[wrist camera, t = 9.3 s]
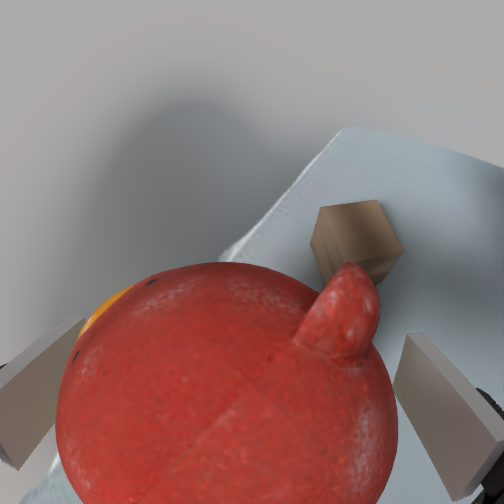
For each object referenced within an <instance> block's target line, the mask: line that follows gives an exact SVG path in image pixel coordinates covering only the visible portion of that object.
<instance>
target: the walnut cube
mask: <svg viewBox="0 0 504 504" xmlns="http://www.w3.org/2000/svg"><path fill="white" fill-rule="evenodd" d="M310 246H311V249H312V251H313V254H314V257H315V259H316V262H317V265H318V268H319V270H320V273H321V276H322V279H323V282H324V284H325V286H326V285H327V283H328V282H329V281H330V279H331V278H332V277H333V275H334V274H335V273H336V272H337V270H338V269H339V268H340V267H341V266H342V265H343V264H344V263H346V262H354V263H355V264H357V265H358V266H360V267H362V268H363V269H364V271H365V272H366V273H367V275H368V276H369V277H370V279H371V280H372V282H373V284H377V283H381V282H382V280H383V279H384V278H385V276H386V275H387V274H388V272H389V271H390V270H391V268H392V267H393V265H394V264H395V263H396V261H397V260H398V258H399V257H400V256H401V254H402V253H403V251H404V250H403V248H402V246H401V244H400V242H399V241H398V239H397V237H396V235H395V233H394V231H393V229H392V227H391V225H390V223H389V222H388V220H387V218H386V216H385V214H384V212H383V211H382V209H381V207H380V205H379V204H378V202H377V200H371V201H363V202H355V203H348V204H340V205H333V206H325V207H320V211H319V214H318V218H317V221H316V225H315V229H314V232H313V236H312V239H311V243H310Z"/></svg>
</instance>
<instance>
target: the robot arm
mask: <svg viewBox="0 0 504 504" xmlns="http://www.w3.org/2000/svg"><path fill="white" fill-rule="evenodd" d="M85 323H86V322H85V317H81V316H75V315H69V316H68V317H67V318H66V319H64V320H63V321H62V322H60V323H59V324H57V325H56V326H55V327H54V328H52V329H51V330H50V331H48V332H47V333H46V334H44V335H43V336H42V337H41V338H39V339H38V340H37V341H35V342H34V343H33V344H31V345H30V346H29V347H28V348H26V349H25V350H24V351H23V352H21V353H20V354H19V355H18V356H17V357H15V358H14V359H13V360H12V361H10V362H9V363H7V364H4V365H2V366H0V458H1V460H2V461H3V462H4V463H5V464H7V465H9V466H10V467H12V468H14V469H16V470H17V471H19V469H20V468H21V466H22V465H23V464H24V462H25V461H26V460H27V459H28V457H29V456H30V454H31V453H32V452H33V450H34V449H35V448H36V447H37V445H38V444H39V442H40V441H41V440H42V439H43V437H44V436H45V435H46V433H47V432H48V431H49V429H50V428H51V427H52V426H53V424H54V423H55V422H56V410H57V402H58V395H59V389H60V384H61V379H62V376H63V373H64V369H65V366H66V363H67V360H68V357H69V355H70V353H71V351H72V349H73V347H74V345H75V343H76V340H77V338H78V336H79V334H80V332H81V329H82V327H83V326H84V324H85ZM392 388H393V392H394V394H395V396H396V397H397V399H398V401H399V403H400V404H401V406H402V408H403V410H404V411H405V413H406V415H407V417H408V418H409V420H410V422H411V424H412V426H413V427H414V429H415V431H416V433H417V435H418V436H419V438H420V440H421V442H422V444H423V445H424V447H425V449H426V451H427V453H428V455H429V457H430V458H431V460H432V462H433V464H434V466H435V468H436V470H437V472H438V474H439V476H440V478H441V480H442V481H443V483H444V485H445V487H446V489H447V491H448V493H449V495H450V497H451V499H452V501H453V502H454V501H457V500H459V499H462V498H464V497H467V496H469V495H471V494H472V493H473V492H474V491H475V489H476V488H477V487H478V486H479V484H480V483H481V484H482V486H483V488H484V489H483V491H482V492H481V493H480V494H479V495H478V496H477V497H476V499H475V500H474V501H473V502H472V503H471V504H476V503H477V504H504V411H502V409H501V407H500V406H499V405H498V404H496V402H495V401H494V400H493V399H492V398H491V396H490V395H489V394H487V393H486V392H484V391H482V390H481V389H479V388H475V387H474V386H473V385H472V384H471V383H470V382H469V381H468V380H467V379H466V378H465V377H464V376H463V375H462V373H461V372H460V371H459V370H458V369H457V368H456V367H455V366H454V365H453V364H452V363H451V362H450V361H449V360H448V359H447V358H446V357H445V356H444V355H443V353H442V352H441V351H440V350H439V349H438V348H437V347H436V346H435V345H434V344H433V343H432V342H431V341H430V340H429V339H428V338H427V337H426V336H425V335H424V334H423V333H415V334H407V336H406V340H405V344H404V348H403V352H402V355H401V359H400V362H399V366H398V369H397V373H396V376H395V379H394V382H393V386H392Z"/></svg>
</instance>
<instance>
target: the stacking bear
mask: <svg viewBox="0 0 504 504" xmlns="http://www.w3.org/2000/svg"><path fill="white" fill-rule="evenodd" d="M380 307H381V306H380V301H379V296H378V291H377V289H376V287H375V285H374V284H373V282H372V280H371V279H370V277H369V276H368V275H367V273H366V272H365V271H364V269H363V268H362V267H360V266H358V265H357V264H355V263H354V262H346V263H344V264H343V265H342V266H341V267H340V268H339V269H338V270H337V272H336V273H335V274H334V275H333V277H332V278H331V279H330V281H329V282H328V283H327V285H326V286H325V287H324V289H323V290H322V292H321V293H318V292H316V291H314V290H313V289H311V288H309V287H308V286H306V285H304V284H303V283H301V282H299V281H298V280H295V279H293V278H291V277H289V276H287V275H285V274H283V273H280V272H277V271H274V270H271V269H269V268H266V267H261V266H256V265H252V264H245V263H236V262H211V263H203V264H196V265H190V266H185V267H181V268H177V269H173V270H167V271H163V272H160V273H158V274H155V275H152V276H150V277H148V278H146V279H144V280H142V281H140V282H138V283H136V284H134V285H132V286H129V287H127V288H125V289H123V290H121V291H119V292H117V293H116V294H114V295H113V296H112V297H110V298H109V299H107V300H106V301H105V302H104V303H103V304H102V305H101V306H100V307H99V308H98V309H97V310H96V311H95V312H94V313H93V314H92V316H91V317H90V318H89V319H88V321H87V322H86V323H85V324H84V326H83V327H82V329H81V332H80V334H79V336H78V338H77V340H76V343H75V345H74V347H73V349H72V351H71V353H70V355H69V357H68V360H67V363H66V366H65V369H64V373H63V376H62V379H61V384H60V389H59V395H58V402H57V410H56V423H55V430H56V442H57V447H58V452H59V456H60V459H61V462H62V465H63V468H64V471H65V473H66V475H67V477H68V480H69V482H70V484H71V485H72V487H73V489H74V490H75V492H76V493H77V495H78V496H79V498H80V499H81V501H82V502H83V503H84V504H376V503H377V501H378V499H379V498H380V496H381V494H382V492H383V491H384V489H385V486H386V484H387V481H388V479H389V476H390V474H391V471H392V467H393V464H394V460H395V456H396V453H397V443H398V415H397V406H396V400H395V396H394V392H393V388H392V384H391V380H390V377H389V374H388V372H387V369H386V367H385V364H384V362H383V360H382V358H381V356H380V355H379V353H378V351H377V350H376V348H375V347H374V345H373V343H372V342H371V341H372V339H373V337H374V335H375V333H376V329H377V325H378V322H379V318H380Z"/></svg>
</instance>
